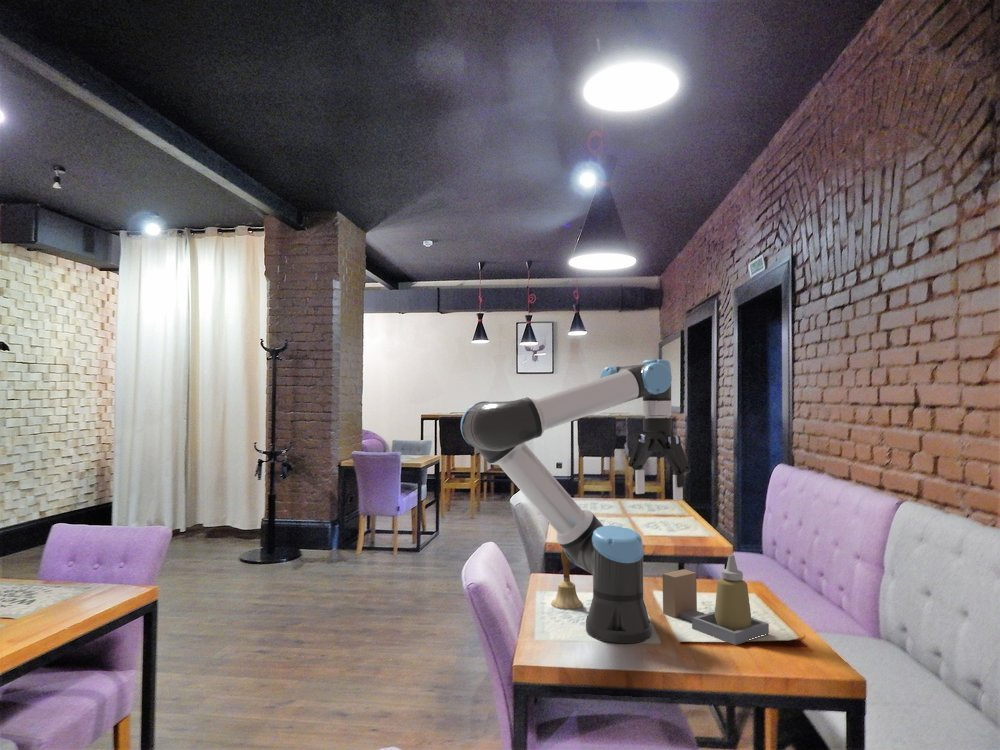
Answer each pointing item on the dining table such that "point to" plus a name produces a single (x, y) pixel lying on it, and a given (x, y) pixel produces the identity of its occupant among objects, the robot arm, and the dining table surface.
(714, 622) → the grey tray with block
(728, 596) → the squeeze bottle
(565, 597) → the hand bell
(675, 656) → the dining table surface
